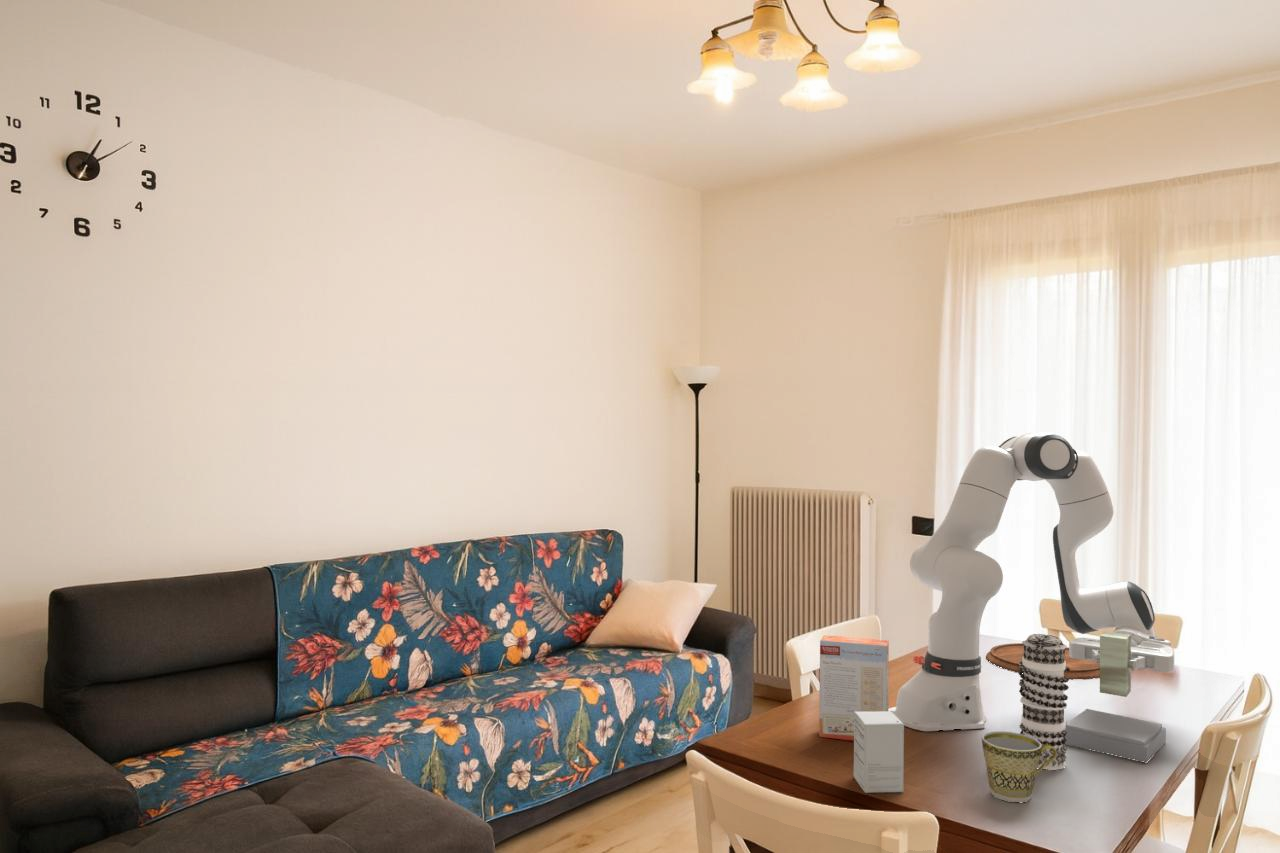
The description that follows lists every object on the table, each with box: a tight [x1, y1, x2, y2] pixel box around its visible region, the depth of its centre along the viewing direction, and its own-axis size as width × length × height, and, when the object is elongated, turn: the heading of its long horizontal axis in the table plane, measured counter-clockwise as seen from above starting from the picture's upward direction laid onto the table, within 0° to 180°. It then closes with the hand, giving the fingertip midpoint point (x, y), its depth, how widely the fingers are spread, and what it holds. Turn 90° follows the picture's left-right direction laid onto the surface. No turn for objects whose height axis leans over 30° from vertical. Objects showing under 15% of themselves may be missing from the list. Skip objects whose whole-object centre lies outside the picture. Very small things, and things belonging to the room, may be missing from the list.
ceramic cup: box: [981, 730, 1056, 804], centre depth 161 cm, size 13×10×10 cm
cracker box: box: [818, 634, 890, 742], centre depth 190 cm, size 14×6×21 cm, turn 70°
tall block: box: [1099, 631, 1132, 698], centre depth 189 cm, size 5×5×12 cm
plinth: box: [1064, 708, 1167, 762], centre depth 188 cm, size 16×16×4 cm
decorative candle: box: [1018, 633, 1070, 771], centre depth 177 cm, size 9×9×25 cm
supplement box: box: [853, 711, 905, 794], centre depth 165 cm, size 7×7×13 cm
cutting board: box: [985, 642, 1100, 681], centre depth 253 cm, size 32×32×3 cm
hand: (1114, 662), depth 188 cm, fingers closed on tall block, 5 cm apart
